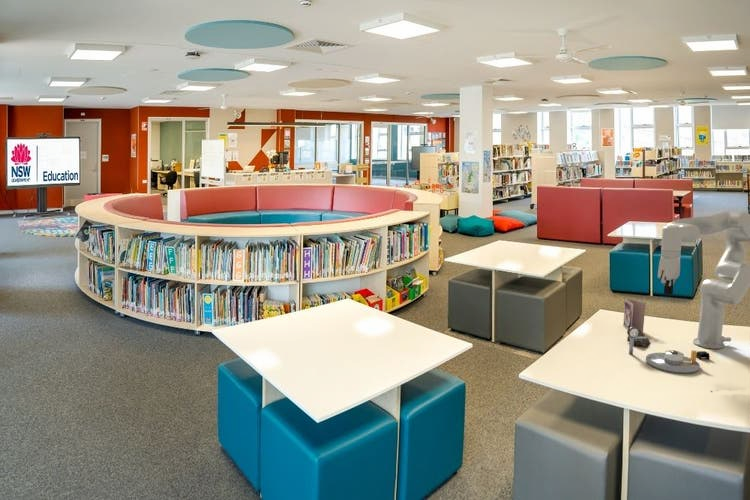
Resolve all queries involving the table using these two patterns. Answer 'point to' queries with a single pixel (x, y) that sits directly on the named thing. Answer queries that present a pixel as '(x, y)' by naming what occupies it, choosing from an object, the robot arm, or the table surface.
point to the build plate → (702, 355)
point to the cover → (673, 357)
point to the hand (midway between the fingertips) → (668, 294)
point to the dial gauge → (633, 337)
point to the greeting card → (634, 314)
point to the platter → (686, 368)
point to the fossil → (640, 340)
